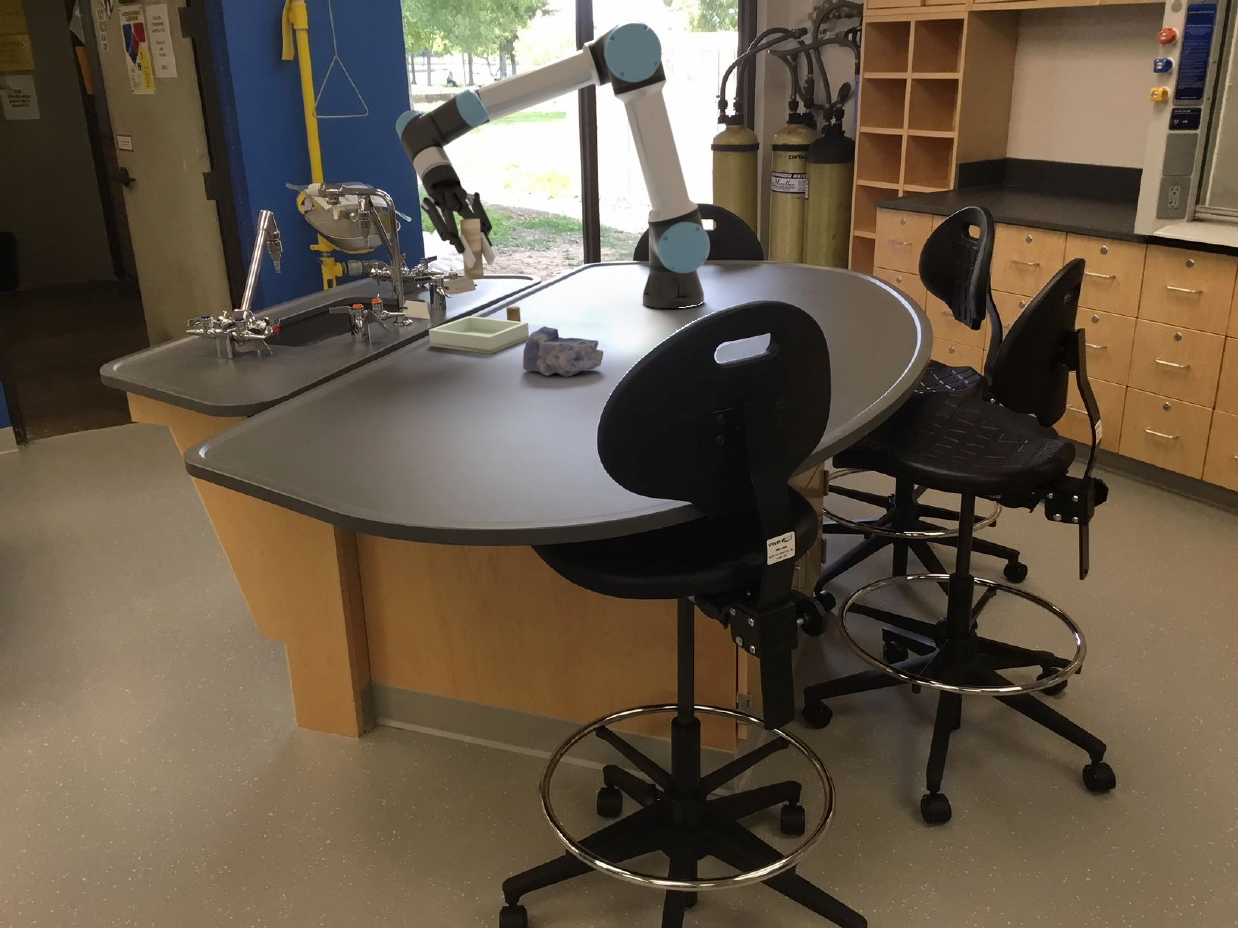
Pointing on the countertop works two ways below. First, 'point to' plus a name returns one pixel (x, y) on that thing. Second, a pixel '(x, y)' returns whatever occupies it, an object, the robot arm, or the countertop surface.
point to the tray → (479, 334)
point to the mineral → (559, 353)
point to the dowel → (473, 247)
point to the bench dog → (513, 313)
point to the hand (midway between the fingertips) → (482, 262)
